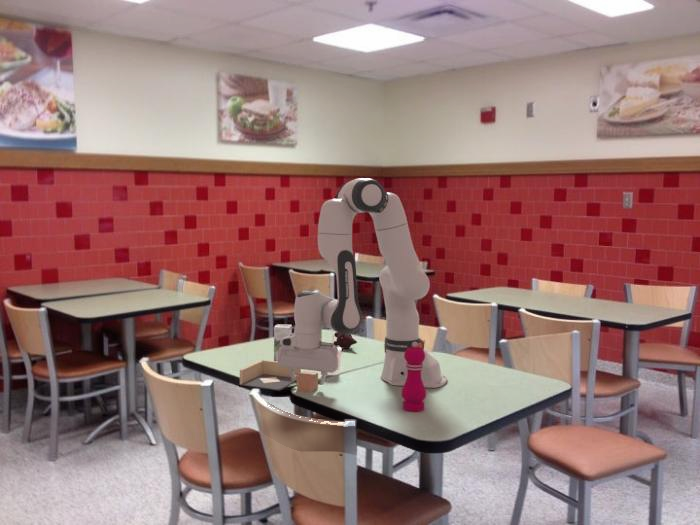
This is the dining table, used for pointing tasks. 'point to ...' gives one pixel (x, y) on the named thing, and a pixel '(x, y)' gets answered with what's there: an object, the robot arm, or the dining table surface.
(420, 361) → the pepper mill
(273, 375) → the arena
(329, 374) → the beverage cup
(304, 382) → the cube
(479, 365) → the dining table surface
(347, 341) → the brown gnome figurine
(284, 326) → the syrup box
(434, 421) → the dining table surface
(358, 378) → the dining table surface
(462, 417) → the dining table surface
